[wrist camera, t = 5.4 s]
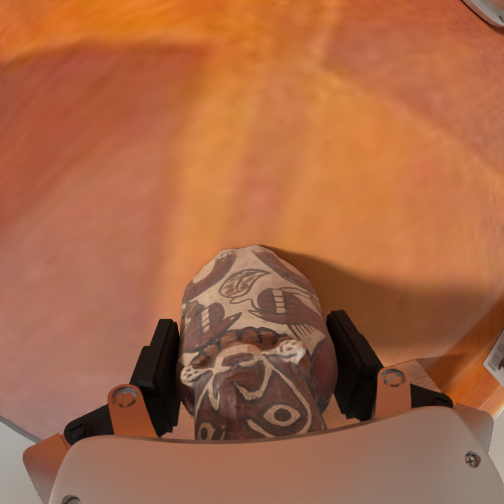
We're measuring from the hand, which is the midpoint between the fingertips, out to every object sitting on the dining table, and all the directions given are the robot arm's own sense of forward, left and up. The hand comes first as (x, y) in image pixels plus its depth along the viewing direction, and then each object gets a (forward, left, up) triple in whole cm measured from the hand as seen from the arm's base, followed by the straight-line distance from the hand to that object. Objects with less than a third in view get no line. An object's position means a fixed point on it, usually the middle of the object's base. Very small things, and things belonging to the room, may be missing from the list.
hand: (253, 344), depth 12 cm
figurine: (0, 0, -4) cm, 4 cm away
